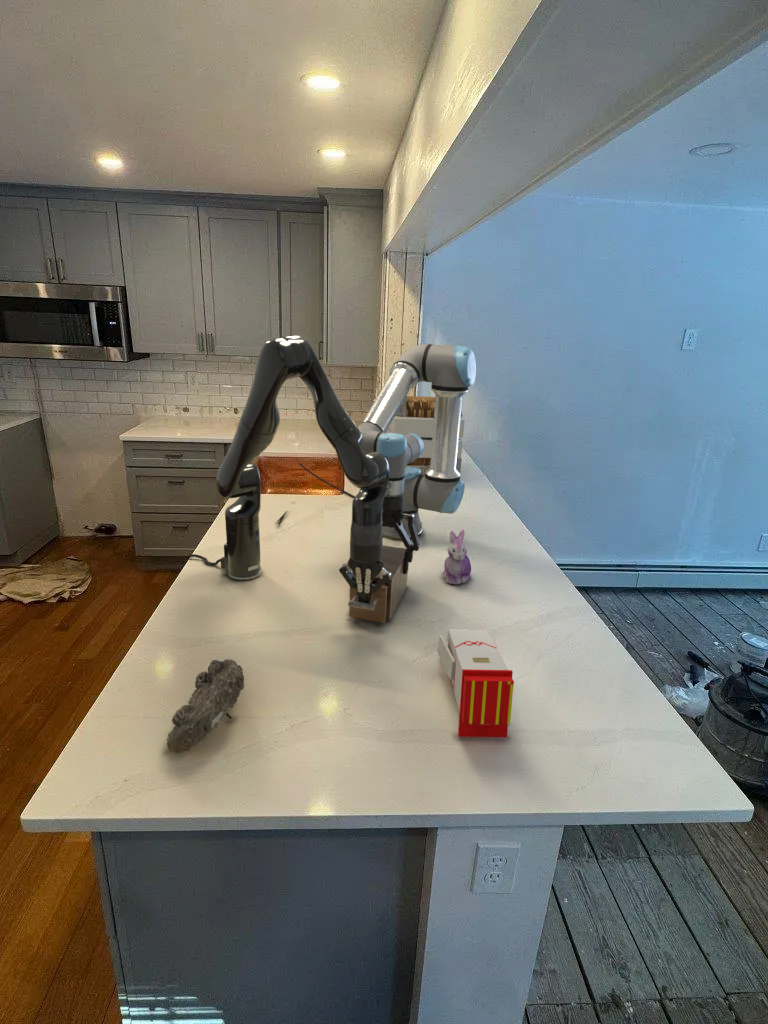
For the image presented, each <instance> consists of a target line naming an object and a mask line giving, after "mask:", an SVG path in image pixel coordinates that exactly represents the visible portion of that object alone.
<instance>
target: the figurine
mask: <svg viewBox="0 0 768 1024" xmlns="http://www.w3.org/2000/svg"><path fill="white" fill-rule="evenodd" d="M455 533H456V532H454V531H453V530H450V531H449V541H450V544H449V545H448V548H447V554H448V556H447V557H446V558H445V560H444V564H443V565H444V569H443V575H442V576H443V579H444V580H445V582H446V583H447V584H450V585H451V584H452V585H460V584H464V583H466V582H468V580H469V579H470V576H471V573H472V563H471V560H470V558H469V557H468V555H467V553H468V550H467V547H466V545H465V542H464V539H465V535H466V534H465V533H466V532H465V530H464V529H462V530H460V531H459V534H458V535H456V534H455Z"/></svg>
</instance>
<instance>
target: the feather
mask: <svg viewBox="0 0 768 1024" xmlns="http://www.w3.org/2000/svg"><path fill="white" fill-rule="evenodd" d="M287 512H288V510H286V511H285V512H284V513H283V514H282V515H281V517H280V518H278V520H277V521H276V522H275V523H274V524H276V523H277V524H278V526H277V527H278V528H279V527H280V525H281V524H282V522H283V519H284V518H285V516H286V514H287Z"/></svg>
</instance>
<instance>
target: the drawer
mask: <svg viewBox="0 0 768 1024" xmlns="http://www.w3.org/2000/svg"><path fill="white" fill-rule="evenodd" d="M376 582H377V581H373V584H375V583H376ZM373 584H372V585H373ZM386 605H387V583H384V584H383V585H382V586H381V587H380V588H379V589H378V590H377V591H376V592H371V601H370V603H363V602H358V590H356V589H355V588H354V589H352V588H351V587H350V586H349V600H348V603H347V606H348V608H349V609H348V610H349V612H348V618H354V619H360V620H365V621H371V622H377V623H383V624H385V623H386V622H387V621H386Z"/></svg>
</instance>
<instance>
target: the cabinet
mask: <svg viewBox="0 0 768 1024" xmlns="http://www.w3.org/2000/svg"><path fill="white" fill-rule="evenodd" d="M405 551H406V548H403V547H397V546H389V545H383V544H382V562H383V565H384V567H383V568H384V569H386V570H387V571H391V573H392V575H391V576H390V578H389V579H388V580H387V581H386V582H385V583H387V605H386V621H385V622H390V621H391V619H392V617H393V616H394V613H395V612H396V609H397V608H398V606H399V603H400V601H401V599H402V597H403V595H404V593H405V591H406V590H407V587H408V574H409V573H408V572H409V571H408V572H407V574H403V573H404V555H405ZM351 572H352V571H351ZM352 574H353V575H354V573H353V572H352ZM380 575H381V572H380V573H379V574H378V575H377V576H376V577H375V578H374V579H373V581H378V580H379V579H380ZM354 576H355V575H354ZM355 578H356V576H355Z"/></svg>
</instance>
